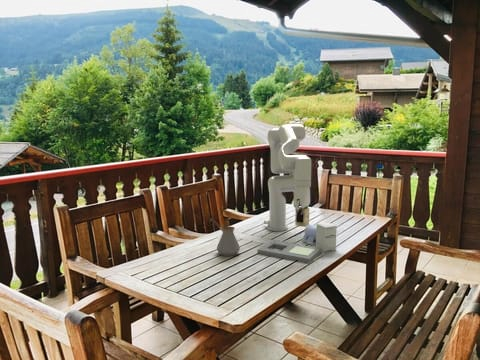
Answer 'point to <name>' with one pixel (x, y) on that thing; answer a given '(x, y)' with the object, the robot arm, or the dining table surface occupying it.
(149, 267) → the dining table surface
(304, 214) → the maple block
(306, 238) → the hippopotamus toy
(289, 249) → the puzzle board
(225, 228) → the coffee pot
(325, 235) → the supplement box
